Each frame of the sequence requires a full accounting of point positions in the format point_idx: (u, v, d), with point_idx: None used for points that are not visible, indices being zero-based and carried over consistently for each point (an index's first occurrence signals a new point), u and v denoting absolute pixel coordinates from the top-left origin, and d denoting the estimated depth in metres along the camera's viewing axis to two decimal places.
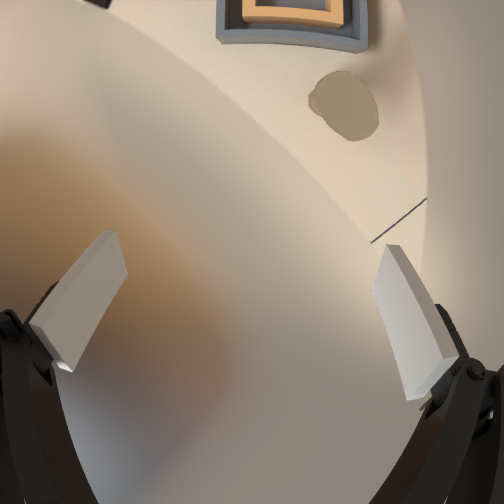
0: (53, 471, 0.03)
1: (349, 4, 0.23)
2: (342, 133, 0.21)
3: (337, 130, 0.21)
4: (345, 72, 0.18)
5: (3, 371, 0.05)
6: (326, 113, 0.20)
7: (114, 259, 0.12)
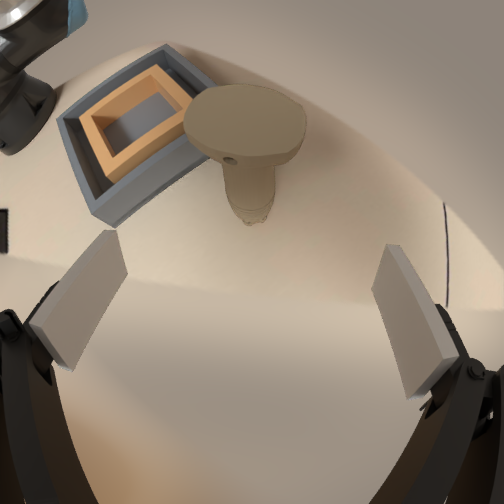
0: (53, 471, 0.03)
1: None
2: (268, 151, 0.12)
3: (258, 153, 0.12)
4: (205, 90, 0.13)
5: (3, 371, 0.05)
6: (222, 145, 0.13)
7: (114, 259, 0.12)
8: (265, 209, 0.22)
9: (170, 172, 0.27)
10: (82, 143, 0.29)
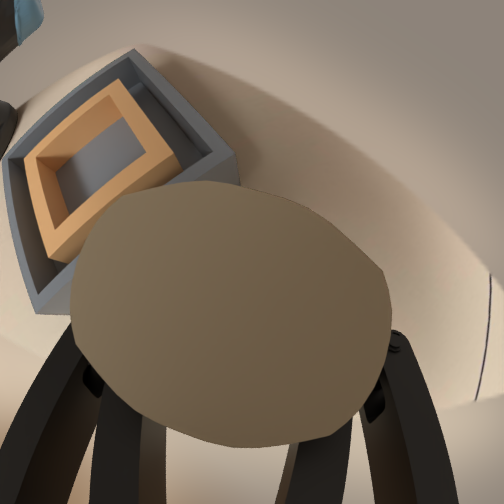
0: (142, 481, 0.04)
1: (177, 128, 0.22)
2: (283, 435, 0.04)
3: (255, 440, 0.04)
4: (116, 205, 0.05)
5: None
6: (165, 412, 0.04)
7: None
8: None
9: None
10: None
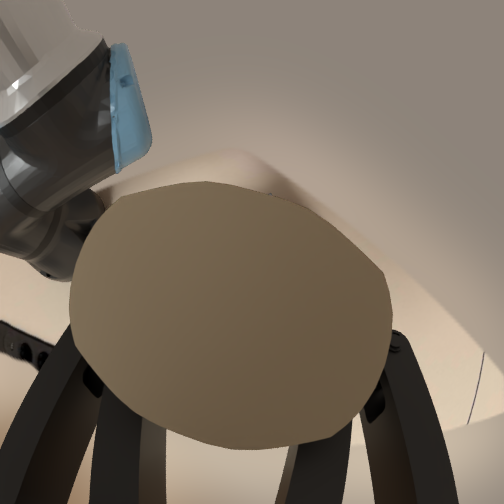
0: (142, 481, 0.04)
1: None
2: (283, 437, 0.04)
3: (255, 442, 0.04)
4: (116, 206, 0.05)
5: None
6: (165, 414, 0.04)
7: None
8: None
9: None
10: None
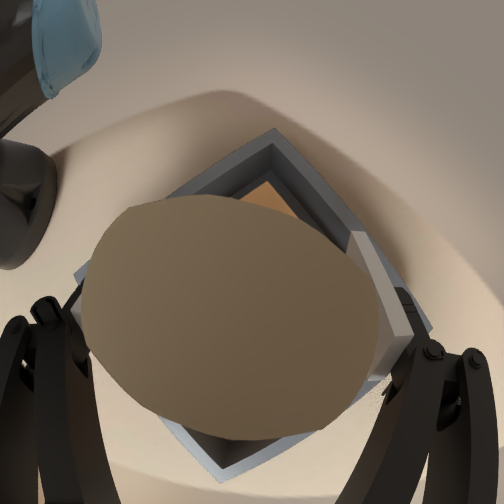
0: (81, 471, 0.04)
1: None
2: (278, 429, 0.05)
3: (253, 433, 0.05)
4: (124, 216, 0.06)
5: (37, 359, 0.06)
6: (170, 407, 0.05)
7: None
8: None
9: None
10: None
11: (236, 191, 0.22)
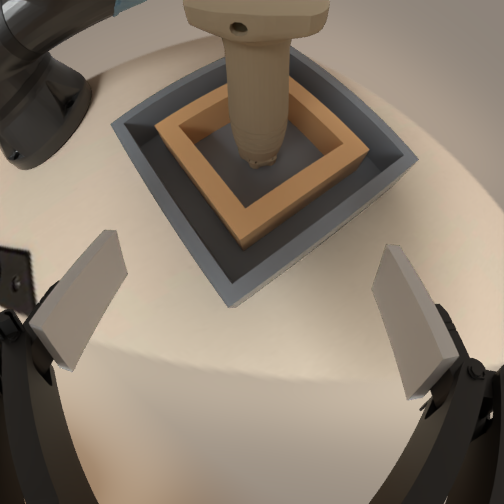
0: (53, 471, 0.03)
1: None
2: (287, 13, 0.07)
3: (274, 14, 0.07)
4: None
5: (3, 371, 0.05)
6: (230, 10, 0.07)
7: (114, 259, 0.12)
8: (276, 137, 0.17)
9: (328, 235, 0.20)
10: (154, 165, 0.23)
11: None
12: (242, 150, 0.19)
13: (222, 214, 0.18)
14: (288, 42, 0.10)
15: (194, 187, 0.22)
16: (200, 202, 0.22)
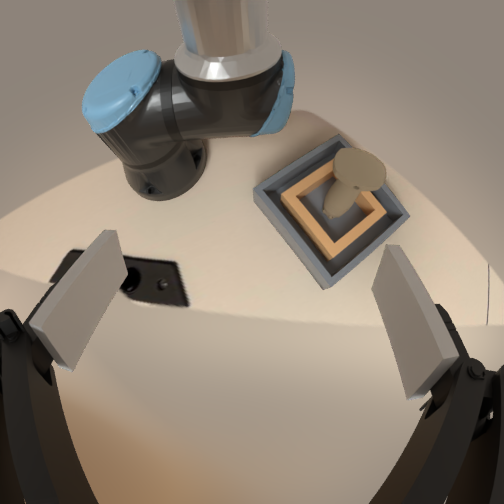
0: (53, 471, 0.03)
1: None
2: (373, 185, 0.28)
3: (369, 186, 0.28)
4: (340, 149, 0.29)
5: (3, 371, 0.05)
6: (355, 181, 0.28)
7: (114, 259, 0.12)
8: (347, 209, 0.38)
9: None
10: None
11: (320, 161, 0.45)
12: (328, 212, 0.40)
13: (324, 246, 0.38)
14: None
15: (300, 228, 0.43)
16: (304, 236, 0.42)
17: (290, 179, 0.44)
